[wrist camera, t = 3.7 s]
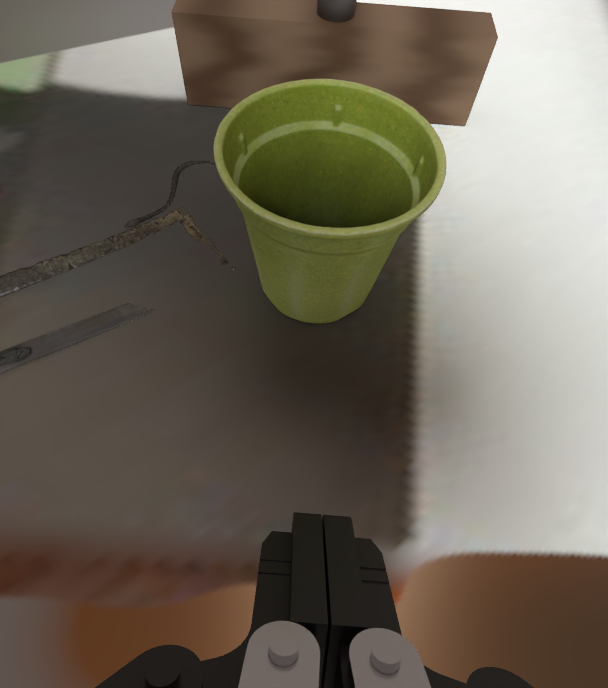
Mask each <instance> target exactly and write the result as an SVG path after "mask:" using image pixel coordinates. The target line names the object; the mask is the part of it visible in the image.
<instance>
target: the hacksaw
mask: <svg viewBox="0 0 608 688" xmlns="http://www.w3.org/2000/svg"><path fill="white" fill-rule="evenodd" d="M197 163H210V161H206V162H205V161H191V162H187V163H184V164H182V165H181V166H180V167H177V169H176V170H175V171H174V175H173V178H172V181H173V182H172V187H171V192H170V197H169V201H167V205H165V206H163V207H162V208H161V209H159V210H157V211H156V212H153V213H151V214H149V215H146V216H144V217H141V218H138V219H133V220H131V221H129V222H128V223H127V224H126V225H125V227H133V226H136V225H138V224H139V223H141V222H144V221H145V220H147V219H150V218H152V217H153V216H155V215H158V214H159V213H160V212H163V211H164V210H165V209H166V208H167V207H169V206H170V204H171V202H172V201H173V197H174V196H175V195H174V194H175V192H176V188H177V182H178V177H179V174H180V172H181V171H182V170H184V169H185V168H186V167H188V166H190V165H193V164H197ZM211 164H216V163H211ZM183 208H184V206H183V207H182V208H180V209H179V211H178V210H177V209H175V211H172V213H169V214H168V215H167V216H165V217H163V218H156V219H154V220H153V221H151V222H149V223H146V224H142V225H140V226H138V227H134V228H133V229H130V230H127V231H125V232H122V233H120V234H117V235H114V236H112V237H109V239H107V238H106V239H105V241H104V242H101V243H93V244H92V245H91V246H85V247H83V248H79V249H77V250H75V251H72V252H71V253H69V254H66V255H59V256H57V257H54V258H51V259H50V260H45V261H44V262H41V261H40V262H38V263H37V264H36V265H34V266H32V267H29V268H24V269H22V268H20V270H18V269H17V271H13V272H9V273H7V274H5V275H3V276H0V297H3V296H5V295H7V294H9V293H11V292H14V291H18V290H20V289H22V288H26V286H30V285H33V284H35V283H38V282H40V281H43V280H45V279H48V278H51V277H53V276H56V275H58V274H60V273H63V272H66V271H68V270H71V269H72V268H76V267H78V266H80V265H83V264H86V263H88V262H91V261H93V260H96V259H98V258H100V257H103V256H105V255H107V254H110V253H112V252H114V251H117V250H119V249H121V248H124V247H126V246H128V245H130V244H132V243H134V242H137V241H139V240H141V239H143V238H145V237H146V236H148V235H149V234H152V233H155V232H157V231H159V230H161V229H162V228H163V227H167V226H170V225H172V224H174V223H175V222H177V221H178V220H179V219H181V221H180V223H181V224H183V226H185V228H184V229H186V231H187V232H188V233H189V235H190V236H191V237H192V238H193V239H194V240H196V241H198V242H200V243H202V244H204V245H206V246H208V247H210V248H211V249H213V250H214V251H216V252H217V253H216V254H215V255H217V256H218V257H219V258H220V262H222V263H221V265H224V264H227V263H229V262H228V261H227V260H226V259H225V258H224V256H223V255H222V254H221V253H220V251H219V250H218V249H217V248H216V246H215V245H214V244H213V243H212V241H211V240H210V239H209V238H208V237H207V236H205V235H203V234H202V233H201V232H200V231H199V230H198V229H197V227H196V225H195V223H194V221H193V218H192V216H191V215H189V214H190V213H185V211H184V209H183ZM181 213H182V214H183V215H182V214H181ZM186 215H188V216H186ZM183 216H184V219H185V222H184V220H183ZM182 221H183V222H182ZM232 270H235V267H232ZM145 308H146V307H145ZM145 308H140V307H138V306H135V305H132V304H130V303H127V304H124V305H122V306H119V307H116V308H114V309H111V310H108V311H106V312H103V313H101V314H98V315H95V316H93V317H90V318H87V319H85V320H82V321H80V322H77V323H74V324H72V325H69V326H66V327H64V328H61V329H59V330H56V331H53V332H51V333H48V334H45V335H43V336H40V337H38V338H35V339H32V340H30V341H27V342H25V343H22V344H19V345H17V346H14V347H11V348H9V349H6V350H4V351H1V352H0V372H4V371H7V370H8V369H12V368H13V367H17V366H18V365H22V364H23V363H26V362H30V361H31V360H35V359H36V358H39V357H41V356H44V355H48V354H49V353H52V352H54V351H57V350H58V349H61V348H65V347H66V346H70V345H71V344H74V343H78V342H79V341H82V340H84V339H87V338H90V337H92V336H95V335H98V334H100V333H103V332H104V331H107V330H111V329H112V328H115V327H119V326H120V325H123V324H125V323H128V322H131V321H132V320H135V319H139V317H143V316H146V315H147V314H149V313H151V312H153V311H154V309H150V310H146V311H145V312H143V311H144V310H145Z"/></svg>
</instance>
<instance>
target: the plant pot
mask: <svg viewBox="0 0 608 688" xmlns="http://www.w3.org/2000/svg"><path fill="white" fill-rule="evenodd" d="M214 158H215V163H216V167H217V171H218V173H219V176H220V178H221V180H222V182H223V184H224V185H225V187H226V188H227V190H228V192H229V193H230V194H231V195H232V197H233V198H234V199H235V201H236V203H237V205H238V207H239V209H240V210H241V212H242V213H243V216H244V220H245V224H246V227H247V231H248V235H249V239H250V243H251V246H252V250H253V254H254V258H255V262H256V265H257V270H258V274H259V278H260V281H261V285H262V289H263V291H264V293H265V294H266V296H267V297H268V298H269V300H270V301H271V302H272V303H273V304H274V306H275V307H276V308H277V309H278V310H279V311H280V312H282V313H283V314H285V315H286V316H288V317H290V318H293V319H295V320H299V321H302V322H307V323H330V322H334V321H337V320H339V319H341V318H342V317H344V316H346V315H348V314H349V313H351V312H353V311H355V310H356V309H358V308H359V307H360V306H361V305H362V304H363V303H364V301H365V300H366V298H367V296H368V294H369V292H370V290H371V289H372V287H373V285H374V283H375V281H376V279H377V277H378V275H379V273H380V271H381V269H382V267H383V266H384V264H385V262H386V260H387V258H388V256H389V254H390V252H391V250H392V248H393V247H394V245H395V243H396V241H397V239H398V237H399V235H400V233H402V232H403V231H404V230H405V229H406V228H407V227H408V225H409V224H410V223H411V222H412V221H413V220H414V219H416V218H417V217H419V216H420V215H421V214H422V213H424V212H425V211H426V210H427V209H428V208H429V207H430V205H431V204H432V203H433V202H434V200H435V199H436V197H437V195H438V194H439V192H440V190H441V188H442V185H443V183H444V179H445V175H446V156H445V151H444V148H443V144H442V142H441V140H440V138H439V136H438V135H437V133H436V132H435V130H434V128H433V127H432V126H431V124H430V123H429V122H428V121H427V120H426V119H425V118H424V117H423V116H422V115H420V114H419V113H418V111H416V110H415V109H414V108H413V107H411V106H409V105H408V104H407V103H405V102H404V101H402V100H400V99H398V98H397V97H395V96H393V95H390V94H388V93H386V92H383V91H381V90H378V89H376V88H372V87H370V86H366V85H363V84H360V83H355V82H350V81H344V80H336V79H304V80H298V81H290V82H286V83H282V84H278V85H274V86H271V87H268V88H265V89H262V90H260V91H258V92H256V93H254V94H252V95H250V96H249V97H247V98H245V99H244V100H242V101H241V102H240V103H238V104H237V105H236V106H235V107H233V108H232V109H231V111H229V113H228V114H227V115H226V116H225V117H224V119H223V120H222V122H221V123H220V125H219V127H218V130H217V133H216V137H215V140H214Z"/></svg>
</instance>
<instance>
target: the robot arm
mask: <svg viewBox="0 0 608 688" xmlns="http://www.w3.org/2000/svg"><path fill="white" fill-rule="evenodd" d="M95 688H533V687H532V686H531V685H530V684H528V683H527V682H526V681H524V680H523V679H522V678H520V677H518V676H517V675H515V674H513V673H511V672H509V671H507V670H504V669H500V668H495V667H484V668H480V669H477V670H475V671H474V672H472V674H471V675H470V676H469V678H468V681H467V684H465V683H463V682H460V681H457V680H454V679H452V678H449V677H446V676H444V675H441V674H439V673H436V672H434V671H432V670H431V669H429V668H427V667H426V666H424V665H423V663H422V660H421V658H420V655H419V653H418V651H417V650H416V648H415V647H414V646H413V645H412V643H411V642H409V641H408V640H407V639H406V638H404V637H403V636H402V634H401V630H400V626H399V622H398V618H397V614H396V609H395V605H394V601H393V597H392V593H391V589H390V586H389V580H388V576H387V572H386V568H385V564H384V560H383V555H382V553H381V551H380V550H379V549H378V548H377V546H376V545H375V544H374V543H373V541H372V540H371V539H363V538H355V537H354V531H353V525H352V519H351V517H344V516H332V515H323V517H321V514H308V513H296V512H294V514H293V523H292V533H289V532H277V531H272V532H271V533H270V534H269V536H268V537H267V538H266V539H265V541H264V542H263V543H262V548H261V556H260V563H259V571H258V579H257V586H256V594H255V602H254V609H253V617H252V624H251V629H250V632H249V634H248V636H247V637H246V639H245V640H244V641H243V643H242V644H241V645H240V646H238V648H236V649H235V650H233V651H232V652H230V653H228V654H226V655H224V656H220V657H217V658H213V659H209V660H205V661H200V660H199V658H198V657H197V656H196V655H195V653H193V652H192V651H191V650H189V649H187V648H185V647H181V646H177V645H163V646H158V647H155V648H152V649H150V650H147V651H145V652H144V653H142V654H141V655H139V656H138V657H136V658H135V659H134V660H132V661H131V662H129V663H128V664H127V665H126V666H124V667H123V668H121V669H120V670H118V671H117V672H116V673H115V674H113V675H112V676H110V677H109V678H108V679H106V680H105V681H104V682H102V683H101V684H99V685H98V686H97V687H95Z"/></svg>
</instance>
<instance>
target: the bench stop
mask: <svg viewBox="0 0 608 688" xmlns="http://www.w3.org/2000/svg"><path fill="white" fill-rule="evenodd" d="M172 17H173V23H174V29H175V34H176V40H177V45H178V51H179V57H180V62H181V68H182V74H183V79H184V85H185V90H186V96H187V102H188V105H199V106H212V107H225V108H233V107H235V106H236V105H237V104H238V103H240V102H241V101H242V100H244V99H245V98H247V97H249V96H250V95H252V94H254V93H256V92H258V91H260V90H262V89H265V88H268V87H271V86H274V85H278V84H282V83H286V82H290V81H298V80H304V79H336V80H344V81H350V82H355V83H360V84H363V85H366V86H370V87H372V88H376V89H378V90H381V91H383V92H386V93H388V94H390V95H393V96H395V97H397V98H398V99H400V100H402V101H404V102H405V103H407V104H408V105H409V106H411V107H413V108H414V109H415V110H416V111H418V113H419V114H420V115H422V116H423V117H424V118H425V119H426V120H427V121H428V122H429V123H432V124H445V125H458V126H465V125H466V122H467V120H468V117H469V114H470V111H471V109H472V106H473V103H474V101H475V98H476V95H477V93H478V90H479V87H480V84H481V82H482V79H483V76H484V74H485V71H486V68H487V66H488V63H489V60H490V57H491V55H492V52H493V49H494V47H495V44H496V41H497V39H498V36H497V33H496V29H495V25H494V22H493V18H492V15H491V13H485V12H473V11H460V10H447V9H435V8H422V7H409V6H396V5H384V4H371V3H358V2H356V0H176V2H175V5H174V7H173V10H172Z"/></svg>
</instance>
